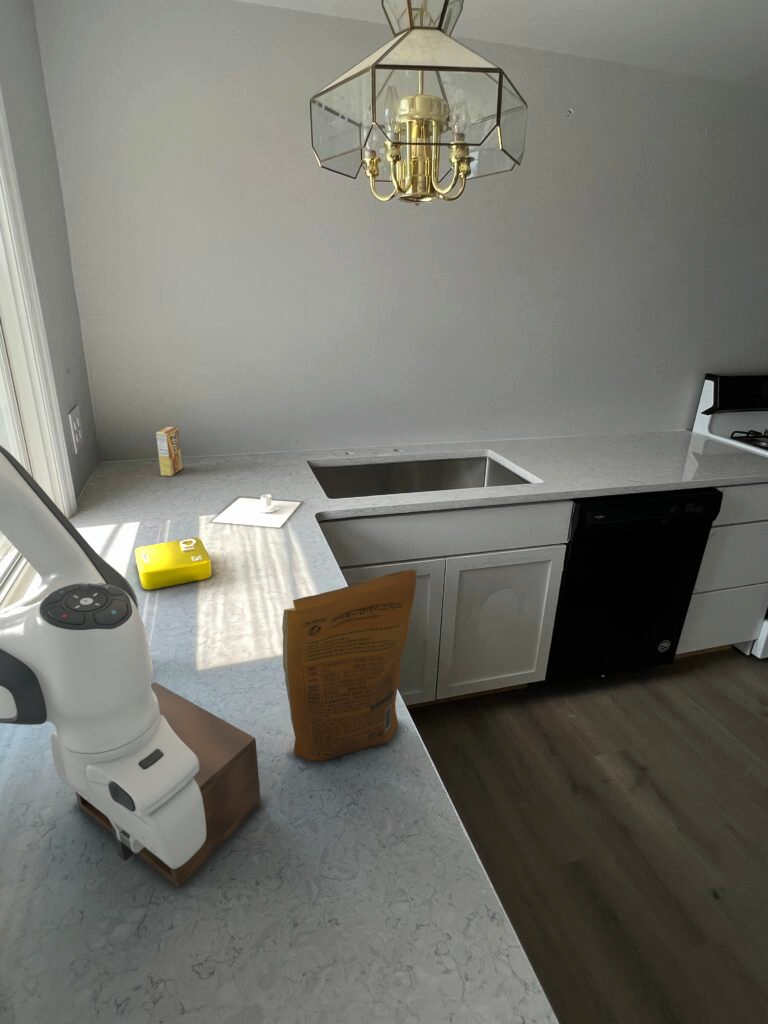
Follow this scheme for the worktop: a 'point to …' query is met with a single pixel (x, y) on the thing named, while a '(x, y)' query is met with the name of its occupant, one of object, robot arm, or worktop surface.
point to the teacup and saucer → (258, 512)
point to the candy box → (169, 451)
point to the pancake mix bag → (346, 664)
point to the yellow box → (172, 563)
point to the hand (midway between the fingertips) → (134, 842)
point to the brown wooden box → (205, 777)
